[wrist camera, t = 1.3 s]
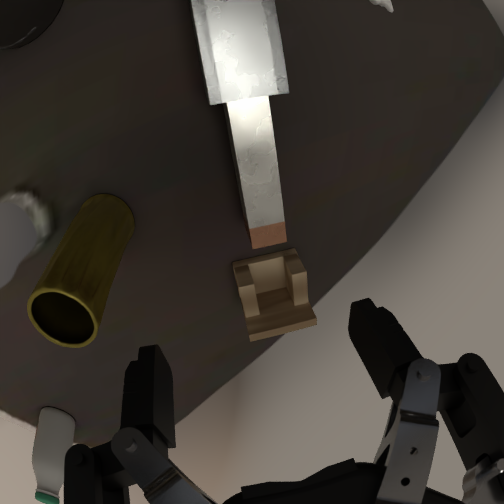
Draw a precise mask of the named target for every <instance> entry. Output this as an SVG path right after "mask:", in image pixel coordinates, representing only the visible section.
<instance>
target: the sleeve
mask: <svg viewBox="0 0 504 504" xmlns="http://www.w3.org/2000/svg"><path fill="white" fill-rule="evenodd" d="M188 1H189V7H190V12H191V18H192V24H193V29H194V35H195V40H196V45H197V51H198V56H199V62H200V67H201V72H202V78H203V83H204V88H205V93H206V99H207V101H208V103H209V104H210V105H214V104H220V103H225V102H230V101H236V100H242V99H248V98H254V97H261V96H268V95H276V94H284V93H289V88H288V81H287V74H286V67H285V61H284V54H283V48H282V42H281V35H280V30H279V24H278V18H277V12H276V7H275V1H274V0H188Z"/></svg>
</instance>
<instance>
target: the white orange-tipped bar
mask: <svg viewBox="0 0 504 504" xmlns="http://www.w3.org/2000/svg"><path fill="white" fill-rule="evenodd" d="M223 108H224V113H225V119H226V124H227V130H228V135H229V141H230V146H231V152H232V157H233V163H234V168H235V173H236V179H237V184H238V190H239V195H240V201H241V206H242V212H243V217H244V222H245V228H246V231H247V234H248V237H249V239H250V242H251V245H252V248H253V249H257V248H261V247H266V246H270V245H275V244H279V243H283V242H287V239H286V230H285V221H284V212H283V203H282V195H281V187H280V179H279V171H278V163H277V155H276V148H275V140H274V133H273V126H272V119H271V112H270V105H269V98H268V96H261V97H254V98H248V99H242V100H236V101H230V102H225V103H223Z"/></svg>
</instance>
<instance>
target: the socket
mask: <svg viewBox="0 0 504 504" xmlns="http://www.w3.org/2000/svg"><path fill="white" fill-rule="evenodd" d="M232 265H233V269H234V273H235V278H236V282H237V286H238V291H239V295H240V299H241V304H242V308H243V312H244V316H245V321H246V325H247V329H248V333H249V338H250V342H251V341H255V340H259V339H264V338H268V337H272V336H276V335H280V334H284V333H288V332H292V331H295V330H299V329H303V328H306V327H310V326H314V325H317V318H316V316H315V314H314V312H313V310H312V307H311V305H310V303H309V301H308V289H307V271H306V270H305V268H304V266H303V264H302V262H301V261H300V259H299V257H298V254H297V252H296V250H295V248H292V249H288V250H284V251H279V252H275V253H270V254H266V255H262V256H257V257H253V258H249V259H244V260H240V261H235V262H232Z"/></svg>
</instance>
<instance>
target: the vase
mask: <svg viewBox="0 0 504 504" xmlns="http://www.w3.org/2000/svg"><path fill="white" fill-rule="evenodd" d="M134 226H135V223H134V217H133V214H132V212H131V210H130V209H129V207H128V206H127V205H126V204H125V203H124V202H123V201H122V200H121V199H119V198H117V197H115V196H113V195H109V194H99V195H95V196H93V197H91V198H89V199H88V200H87V201H86V202H85V203H84V204H83V205H82V207H81V209H80V211H79V213H78V214H77V215H76V217H75V218H74V220H73V221H72V223H71V224H70V226H69V228H68V229H67V231H66V233H65V235H64V236H63V238H62V240H61V242H60V243H59V245H58V247H57V249H56V251H55V252H54V254H53V256H52V258H51V259H50V261H49V263H48V265H47V266H46V268H45V270H44V272H43V274H42V276H41V277H40V279H39V281H38V283H37V284H36V286H35V288H34V290H33V292H32V294H31V295H30V297H29V300H28V304H27V311H28V316H29V318H30V320H31V322H32V324H33V325H34V326H35V328H36V329H37V330H38V331H39V332H40V333H41V334H42V335H43V336H44V337H46V338H47V339H48V340H50V341H52V342H53V343H55V344H58V345H60V346H64V347H71V348H79V347H83V346H86V345H88V344H89V343H90V342H92V341H93V340H94V339H95V337H96V336H97V332H98V329H99V326H100V323H101V319H102V316H103V312H104V309H105V305H106V301H107V297H108V294H109V291H110V288H111V285H112V282H113V280H114V277H115V274H116V272H117V269H118V266H119V263H120V261H121V258H122V255H123V252H124V250H125V247H126V245H127V243H128V241H129V240H130V238H131V237H132V235H133V232H134Z"/></svg>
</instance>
